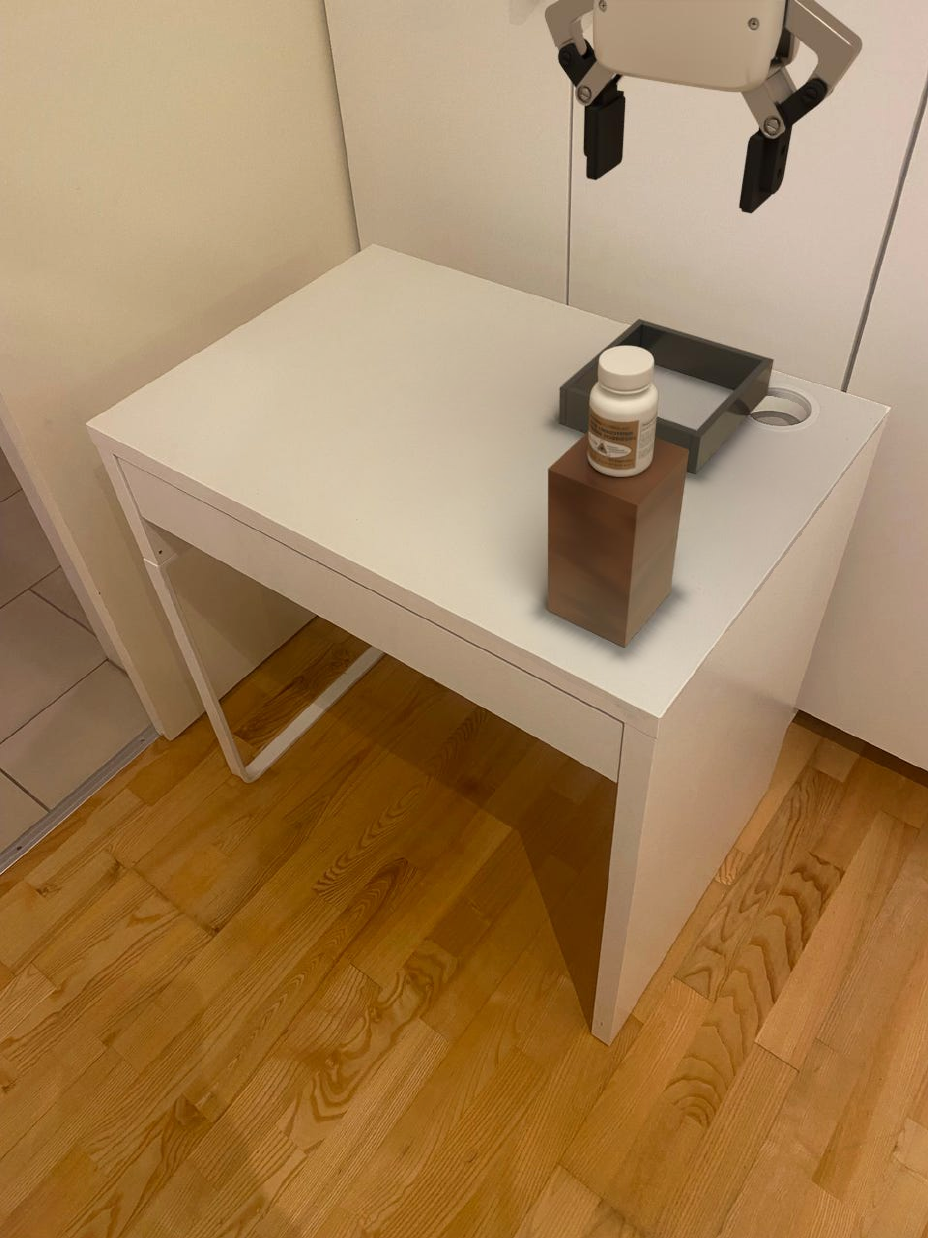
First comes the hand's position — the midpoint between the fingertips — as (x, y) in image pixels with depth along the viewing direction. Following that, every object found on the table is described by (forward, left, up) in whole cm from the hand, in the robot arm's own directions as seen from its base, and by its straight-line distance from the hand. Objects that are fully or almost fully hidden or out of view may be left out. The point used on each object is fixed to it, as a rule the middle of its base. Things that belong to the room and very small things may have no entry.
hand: (677, 186), depth 55 cm
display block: (+2, +4, -31) cm, 31 cm away
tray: (+2, -23, -31) cm, 38 cm away
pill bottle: (+2, +4, -17) cm, 18 cm away
